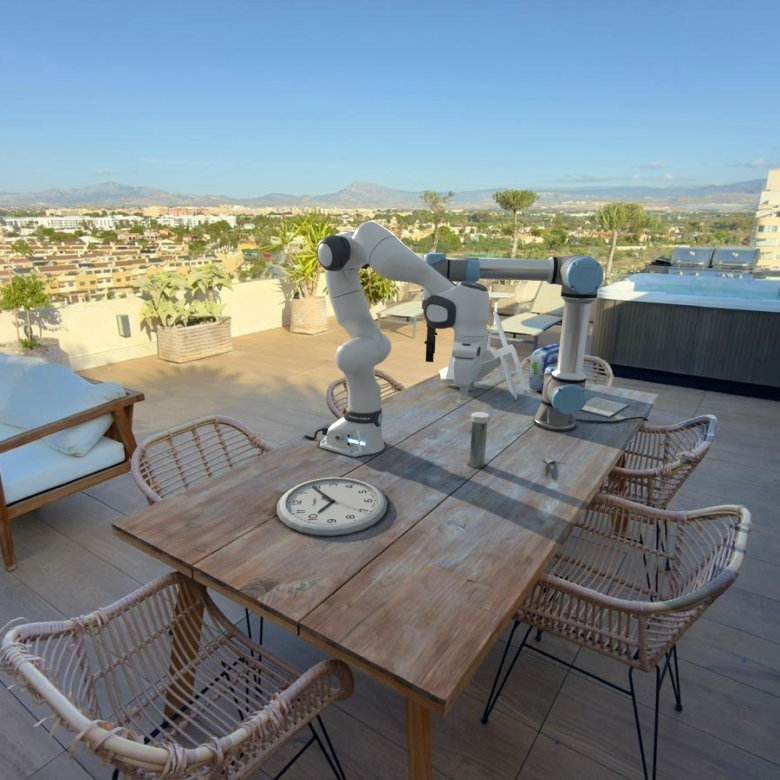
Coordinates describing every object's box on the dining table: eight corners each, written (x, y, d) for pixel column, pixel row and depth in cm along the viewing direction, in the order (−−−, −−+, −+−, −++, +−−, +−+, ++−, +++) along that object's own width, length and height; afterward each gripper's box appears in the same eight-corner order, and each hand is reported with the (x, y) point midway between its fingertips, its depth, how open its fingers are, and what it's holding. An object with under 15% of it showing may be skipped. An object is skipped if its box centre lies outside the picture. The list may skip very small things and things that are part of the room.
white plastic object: (461, 429, 252) (437, 405, 227) (444, 352, 274) (420, 323, 250) (535, 404, 240) (518, 377, 215) (510, 326, 262) (492, 293, 237)
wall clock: (392, 527, 129) (268, 531, 127) (391, 533, 130) (269, 537, 127) (383, 473, 158) (282, 475, 155) (383, 478, 158) (282, 480, 156)
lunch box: (545, 396, 239) (550, 351, 232) (524, 391, 246) (528, 347, 240) (572, 385, 256) (577, 343, 250) (552, 380, 263) (557, 339, 257)
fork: (541, 476, 161) (542, 470, 161) (545, 456, 176) (546, 450, 175) (550, 477, 161) (551, 471, 160) (553, 457, 175) (554, 451, 174)
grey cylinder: (478, 460, 172) (482, 412, 167) (486, 466, 168) (490, 417, 163) (466, 462, 170) (469, 414, 165) (474, 468, 166) (477, 419, 161)
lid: (482, 416, 168) (482, 410, 167) (492, 422, 163) (492, 416, 162) (468, 418, 166) (468, 412, 165) (477, 424, 161) (477, 418, 160)
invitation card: (608, 416, 214) (573, 407, 224) (608, 416, 214) (573, 408, 224) (628, 404, 229) (594, 396, 238) (628, 405, 229) (594, 397, 238)
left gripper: (466, 336, 149) (464, 383, 153) (450, 351, 131) (447, 403, 135) (488, 338, 147) (485, 385, 151) (475, 353, 129) (472, 406, 133)
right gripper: (424, 293, 195) (422, 349, 202) (419, 302, 172) (417, 365, 178) (444, 294, 195) (441, 350, 201) (442, 303, 171) (439, 366, 177)
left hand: (467, 394), depth 143 cm, fingers open, 8 cm apart
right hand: (430, 357), depth 190 cm, fingers open, 13 cm apart
